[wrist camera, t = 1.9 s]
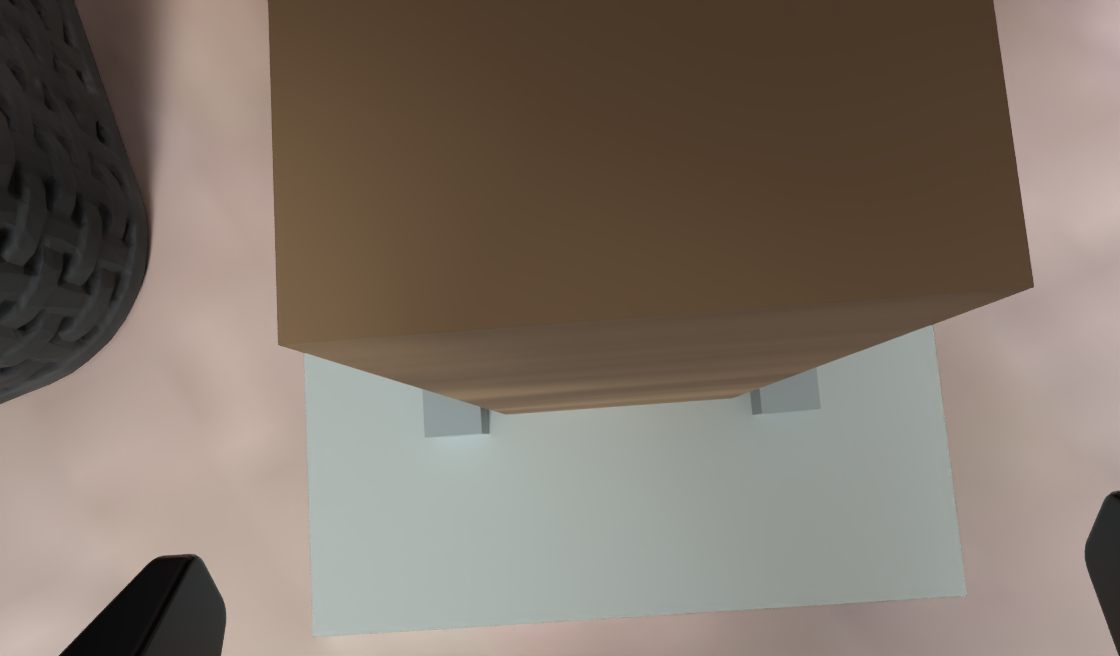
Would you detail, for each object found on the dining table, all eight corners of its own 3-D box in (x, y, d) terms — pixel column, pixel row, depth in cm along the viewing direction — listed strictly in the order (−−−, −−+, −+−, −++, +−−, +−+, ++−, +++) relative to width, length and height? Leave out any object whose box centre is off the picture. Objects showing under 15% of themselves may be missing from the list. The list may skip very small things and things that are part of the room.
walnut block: (732, 398, 20) (1033, 286, 6) (505, 414, 20) (279, 344, 6) (711, 178, 20) (936, -392, 6) (492, 196, 21) (260, -319, 7)
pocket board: (952, 589, 20) (991, 606, 18) (324, 629, 20) (294, 649, 18) (878, -9, 22) (905, -54, 20) (304, 43, 22) (275, 3, 20)
